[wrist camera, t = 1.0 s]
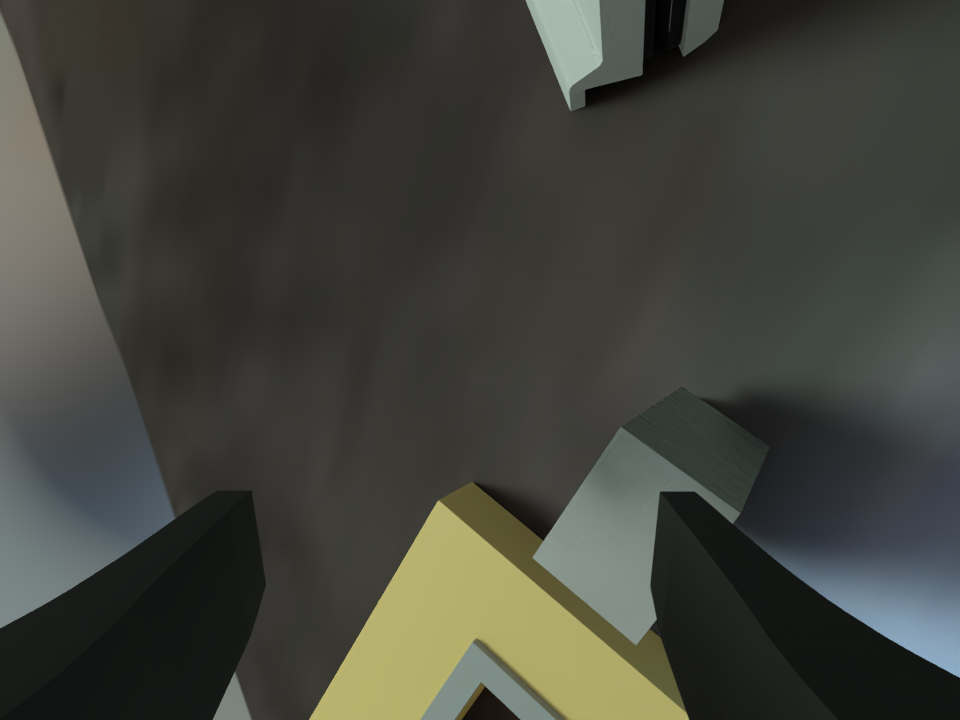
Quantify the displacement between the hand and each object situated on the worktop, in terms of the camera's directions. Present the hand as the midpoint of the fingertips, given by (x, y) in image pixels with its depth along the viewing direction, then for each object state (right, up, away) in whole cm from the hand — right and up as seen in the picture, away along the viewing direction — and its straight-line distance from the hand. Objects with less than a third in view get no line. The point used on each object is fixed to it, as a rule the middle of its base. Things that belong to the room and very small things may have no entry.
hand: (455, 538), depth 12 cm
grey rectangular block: (+7, 0, +10) cm, 13 cm away
